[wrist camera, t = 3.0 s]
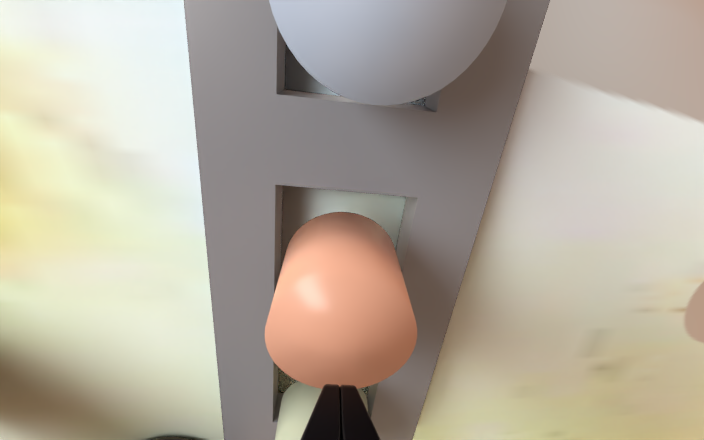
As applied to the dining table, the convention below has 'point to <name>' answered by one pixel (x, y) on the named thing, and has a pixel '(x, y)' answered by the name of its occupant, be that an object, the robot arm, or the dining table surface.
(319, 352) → the terracotta button
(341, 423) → the robot arm
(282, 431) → the sage button
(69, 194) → the dining table surface
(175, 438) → the ink bottle
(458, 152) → the button panel
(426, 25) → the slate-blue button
